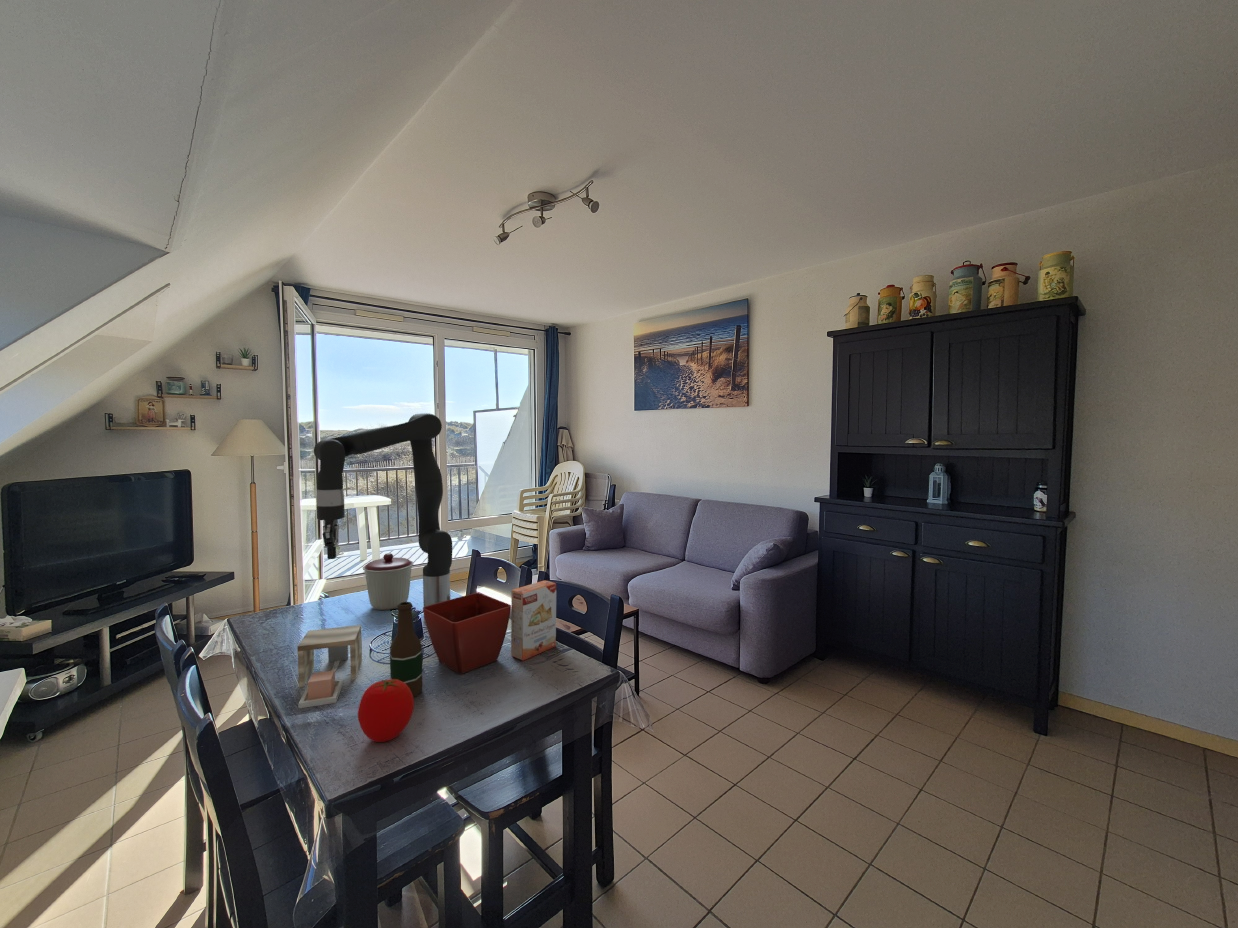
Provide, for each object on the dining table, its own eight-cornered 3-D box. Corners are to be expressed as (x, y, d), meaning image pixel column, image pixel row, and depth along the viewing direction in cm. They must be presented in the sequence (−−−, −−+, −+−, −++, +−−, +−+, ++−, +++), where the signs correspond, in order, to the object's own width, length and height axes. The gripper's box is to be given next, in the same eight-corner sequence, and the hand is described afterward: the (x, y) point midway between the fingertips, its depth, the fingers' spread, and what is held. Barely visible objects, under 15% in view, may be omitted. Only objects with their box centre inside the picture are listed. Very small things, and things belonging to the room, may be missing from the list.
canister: (417, 608, 193) (416, 555, 192) (365, 617, 184) (363, 561, 183) (410, 595, 209) (409, 546, 207) (362, 602, 200) (361, 551, 198)
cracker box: (523, 662, 148) (523, 593, 147) (510, 656, 152) (509, 589, 151) (557, 646, 159) (557, 582, 158) (544, 641, 163) (544, 578, 162)
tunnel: (309, 673, 141) (308, 630, 140) (362, 666, 145) (361, 624, 144) (299, 692, 130) (297, 646, 130) (356, 683, 135) (354, 639, 134)
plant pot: (422, 661, 148) (421, 606, 147) (478, 642, 162) (478, 591, 161) (454, 683, 135) (453, 623, 134) (513, 660, 149) (512, 605, 148)
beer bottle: (402, 703, 125) (400, 610, 124) (384, 695, 129) (381, 604, 128) (429, 690, 132) (427, 601, 130) (410, 682, 136) (408, 596, 134)
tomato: (347, 745, 108) (345, 688, 108) (386, 718, 118) (385, 666, 118) (386, 757, 104) (385, 698, 104) (423, 728, 114) (422, 674, 114)
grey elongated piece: (323, 664, 145) (322, 639, 145) (354, 659, 148) (353, 635, 148) (298, 712, 120) (297, 682, 120) (336, 706, 123) (335, 676, 122)
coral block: (335, 688, 129) (334, 669, 129) (331, 698, 125) (330, 678, 124) (313, 691, 128) (312, 672, 127) (308, 701, 123) (307, 682, 123)
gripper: (340, 505, 150) (341, 562, 151) (347, 500, 162) (348, 552, 163) (311, 506, 147) (313, 564, 148) (321, 501, 159) (322, 554, 160)
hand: (331, 558), depth 156 cm, fingers closed
